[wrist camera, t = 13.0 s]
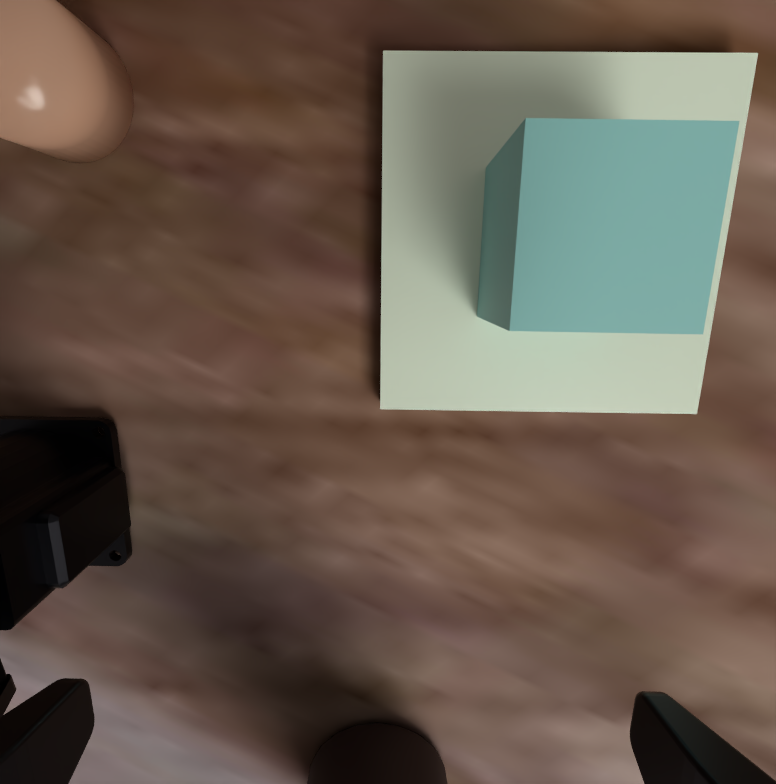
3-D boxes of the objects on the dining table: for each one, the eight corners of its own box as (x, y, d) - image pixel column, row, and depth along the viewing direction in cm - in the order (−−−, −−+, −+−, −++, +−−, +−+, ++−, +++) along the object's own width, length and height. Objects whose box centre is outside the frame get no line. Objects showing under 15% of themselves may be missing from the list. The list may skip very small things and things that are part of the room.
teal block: (476, 316, 17) (509, 331, 12) (485, 167, 16) (525, 117, 11) (615, 318, 17) (703, 334, 12) (633, 169, 16) (739, 120, 11)
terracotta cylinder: (20, 162, 17) (-90, 128, 13) (-2, 23, 16) (-129, -60, 12) (140, 163, 17) (65, 129, 13) (126, 24, 16) (40, -59, 12)
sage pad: (381, 402, 19) (380, 409, 18) (383, 64, 16) (383, 50, 15) (681, 406, 19) (696, 413, 18) (735, 67, 16) (758, 52, 15)
